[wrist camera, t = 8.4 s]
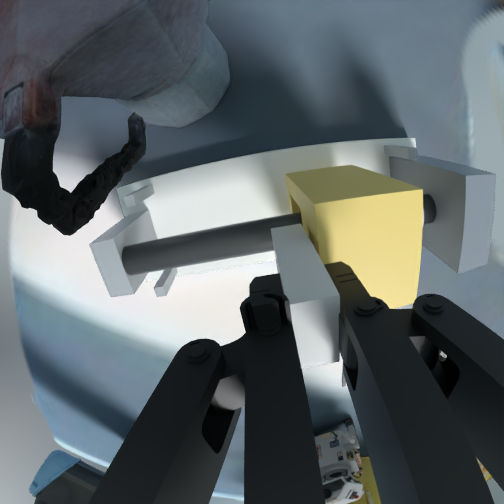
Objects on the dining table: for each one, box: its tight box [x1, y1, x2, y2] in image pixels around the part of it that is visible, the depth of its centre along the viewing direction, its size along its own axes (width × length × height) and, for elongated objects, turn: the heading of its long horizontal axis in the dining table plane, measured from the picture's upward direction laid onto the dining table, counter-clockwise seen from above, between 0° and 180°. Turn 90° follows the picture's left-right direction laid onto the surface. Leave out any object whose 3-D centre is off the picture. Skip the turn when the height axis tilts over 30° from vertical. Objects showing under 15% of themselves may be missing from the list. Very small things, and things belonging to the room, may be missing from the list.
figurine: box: [315, 419, 365, 504], centre depth 30 cm, size 9×12×15 cm
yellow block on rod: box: [285, 165, 423, 309], centre depth 15 cm, size 5×6×9 cm
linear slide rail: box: [89, 138, 496, 297], centre depth 18 cm, size 26×9×11 cm, turn 101°
